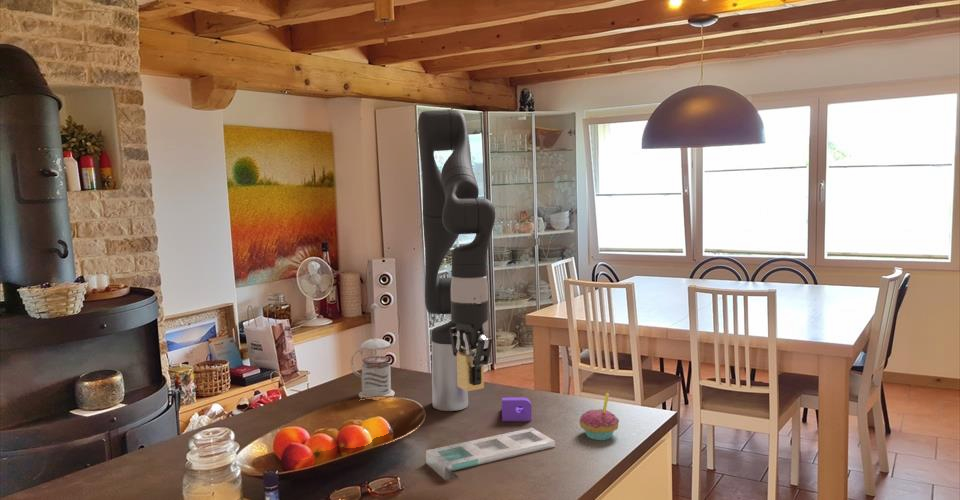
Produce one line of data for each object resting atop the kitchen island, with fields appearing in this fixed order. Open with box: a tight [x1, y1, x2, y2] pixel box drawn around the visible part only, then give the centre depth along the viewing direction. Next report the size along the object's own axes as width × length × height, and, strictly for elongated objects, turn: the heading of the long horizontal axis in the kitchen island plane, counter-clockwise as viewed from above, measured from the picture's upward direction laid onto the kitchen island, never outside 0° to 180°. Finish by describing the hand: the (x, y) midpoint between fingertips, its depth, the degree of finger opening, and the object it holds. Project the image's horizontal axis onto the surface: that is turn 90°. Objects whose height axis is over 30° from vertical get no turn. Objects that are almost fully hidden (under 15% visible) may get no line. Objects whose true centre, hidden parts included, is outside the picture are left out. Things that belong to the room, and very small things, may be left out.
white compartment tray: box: [425, 427, 556, 480], centre depth 145 cm, size 9×26×3 cm, turn 118°
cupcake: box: [579, 390, 620, 441], centre depth 153 cm, size 9×8×12 cm
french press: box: [350, 303, 396, 399], centre depth 187 cm, size 10×12×25 cm
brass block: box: [457, 349, 485, 392], centre depth 141 cm, size 4×4×7 cm
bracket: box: [501, 396, 532, 422], centre depth 169 cm, size 12×7×7 cm, turn 179°
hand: (470, 381), depth 141 cm, fingers closed on brass block, 4 cm apart
